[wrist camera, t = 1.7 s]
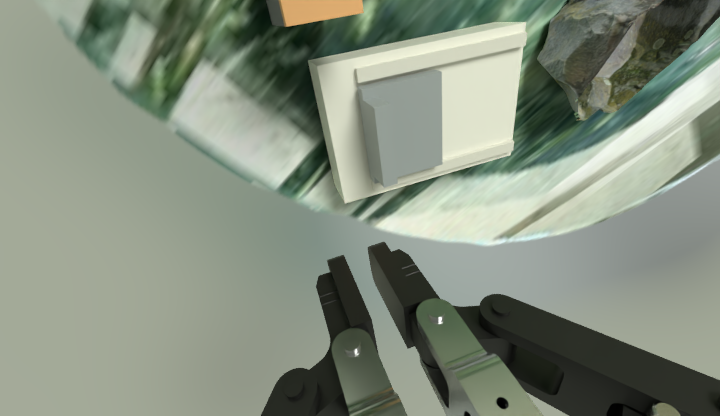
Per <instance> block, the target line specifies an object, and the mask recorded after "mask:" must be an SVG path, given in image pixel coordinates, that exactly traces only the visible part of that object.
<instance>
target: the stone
mask: <svg viewBox="0 0 720 416" xmlns="http://www.w3.org/2000/svg"><path fill="white" fill-rule="evenodd" d="M719 17H720V0H570V1H569V3H567V4H566V5H565V6H564V7H563V8H562V9H561V11H560V12H559V13H558V14H557V15H556V16H555V17H554V18H552V19H551V21H550V25H549V30H548V32H549V33H548V36H547V39H546V41H545V44H544V47H543V49H542V51H541V52H540V53H539V55H538V58H537V60H538V62H539V63H540V64H541V65H542V66H543V67H544V68H545V69H546V70H547V72H548V73H549V74H550V75H551V76H552V77H553V78H554V79H555V81H556V82H557V83H558V84H559V85H560V86H561V87H562V88H563V90H564V91H565V92H566V95H567V97H568V99H569V103H570V105H571V107H572V109H573V110H574V111H575V112H576V113H574V115H577V114H578V115H577V116H576V117H579V118H577V120H583V121H584V120H586V119H588V118H589V117H590V116H591V115H592V114H594V113H595V112H596V111H597V110H601V111H603V112H607V113H612V112H615V111H617V110H618V109H619V108H621V107H622V106H623V105H624V104H625V103H626V102H627V101H628V100H629V99H631V98H632V97H633V96H634V95H635V94H636V93H638V92H639V91H640V90H641V89H642V88H643V87H644V85H646V84H647V83H648V82H649V81H650V80H651V79H653V78H654V77H655V76H656V75H657V74H659V73H660V72H661V71H662V70H664V69H665V68H666V67H667V66H668V65H669V64H671V63H672V62H673V61H674V60H675V59H677V58H678V57H679V56H680V55H681V54H682V53H683V52H685V51H686V50H687V49H688V48H689V47H690V45H691V44H693V43H694V42H696V41H697V40H698V39H699V38H700V37H701V36H702V35H703V34H704V33H705V32H706V30H707V29H708V28H709V27H710V26H711V25H712V24H713V23H714V22H715V21H716V20H717V19H718V18H719ZM633 23H635V25H634V24H633ZM577 120H576V121H577Z"/></svg>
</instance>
